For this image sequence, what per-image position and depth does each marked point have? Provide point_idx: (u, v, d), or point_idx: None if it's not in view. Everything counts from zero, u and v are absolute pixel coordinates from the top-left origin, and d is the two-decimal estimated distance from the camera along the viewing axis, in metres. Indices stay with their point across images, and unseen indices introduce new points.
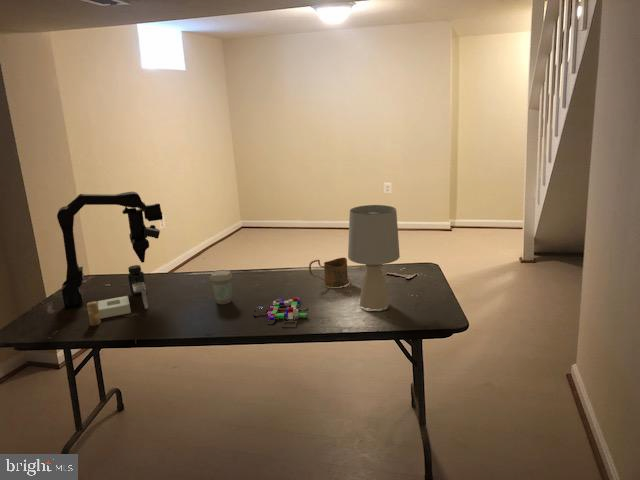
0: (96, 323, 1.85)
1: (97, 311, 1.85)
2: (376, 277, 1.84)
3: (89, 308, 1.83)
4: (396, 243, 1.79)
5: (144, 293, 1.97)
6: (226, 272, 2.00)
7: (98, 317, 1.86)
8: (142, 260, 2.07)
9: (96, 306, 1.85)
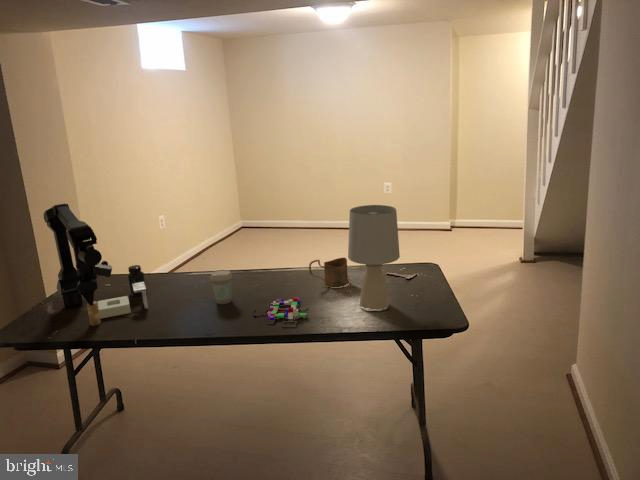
0: (96, 323, 1.85)
1: (97, 311, 1.85)
2: (376, 277, 1.84)
3: (89, 308, 1.83)
4: (396, 243, 1.79)
5: (144, 293, 1.97)
6: (226, 272, 2.00)
7: (98, 317, 1.86)
8: (91, 303, 1.80)
9: (96, 306, 1.85)
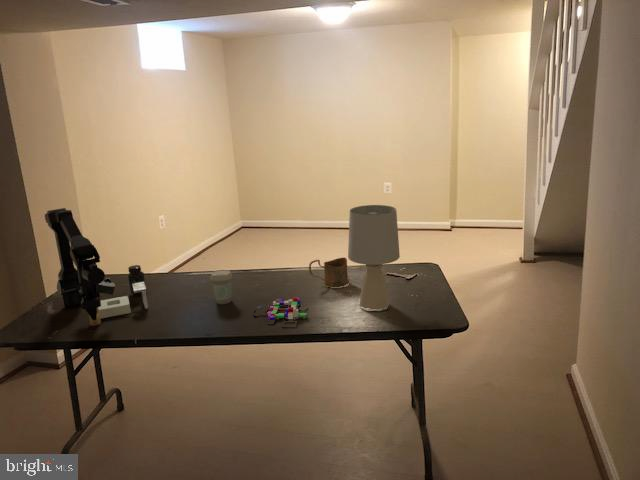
0: (96, 323, 1.85)
1: (97, 311, 1.85)
2: (376, 277, 1.84)
3: None
4: (396, 243, 1.79)
5: (144, 293, 1.97)
6: (226, 272, 2.00)
7: (98, 317, 1.86)
8: (94, 318, 1.84)
9: None
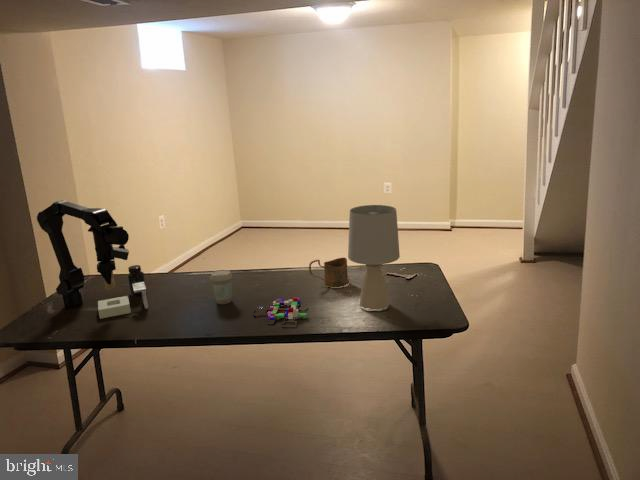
0: (111, 287, 1.93)
1: (112, 275, 1.93)
2: (376, 277, 1.84)
3: None
4: (396, 243, 1.79)
5: (144, 293, 1.97)
6: (226, 272, 2.00)
7: (113, 281, 1.93)
8: (108, 282, 1.92)
9: None
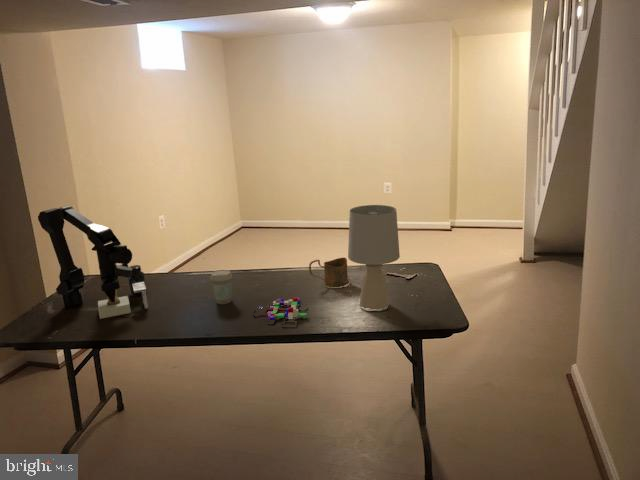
0: None
1: (116, 293, 1.95)
2: (376, 277, 1.84)
3: None
4: (396, 243, 1.79)
5: (144, 293, 1.97)
6: (226, 272, 2.00)
7: (116, 299, 1.96)
8: (112, 300, 1.94)
9: None
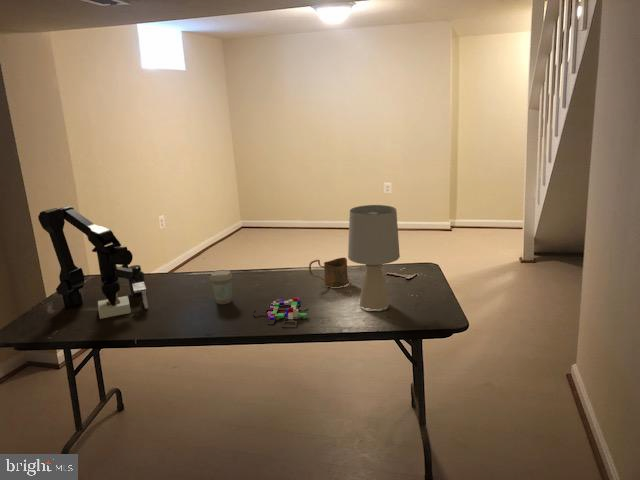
0: None
1: (117, 299, 1.96)
2: (376, 277, 1.84)
3: None
4: (396, 243, 1.79)
5: (144, 293, 1.97)
6: (226, 272, 2.00)
7: None
8: (113, 303, 1.92)
9: None
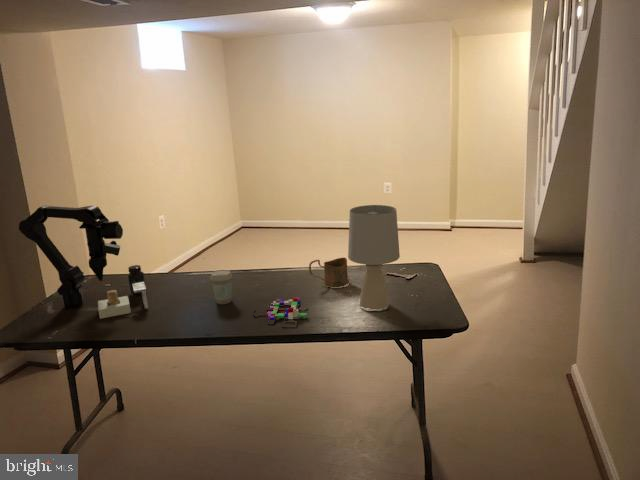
0: None
1: (117, 299, 1.96)
2: (376, 277, 1.84)
3: (109, 296, 1.94)
4: (396, 243, 1.79)
5: (144, 293, 1.97)
6: (226, 272, 2.00)
7: None
8: (100, 278, 1.96)
9: (115, 294, 1.95)
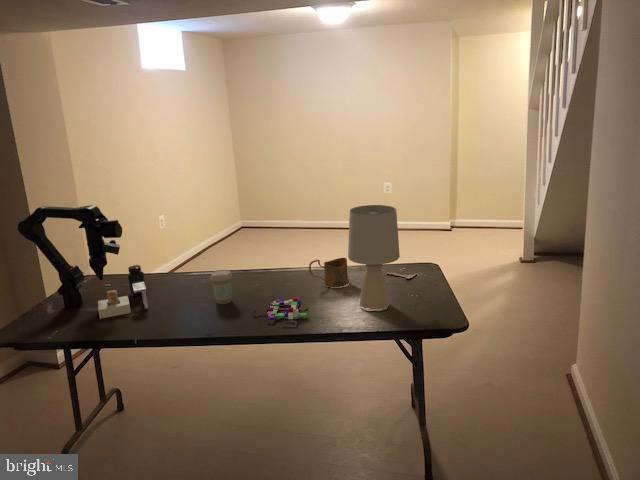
0: None
1: (117, 299, 1.96)
2: (376, 277, 1.84)
3: (109, 296, 1.94)
4: (396, 243, 1.79)
5: (144, 293, 1.97)
6: (226, 272, 2.00)
7: None
8: (100, 278, 1.96)
9: (115, 294, 1.95)
